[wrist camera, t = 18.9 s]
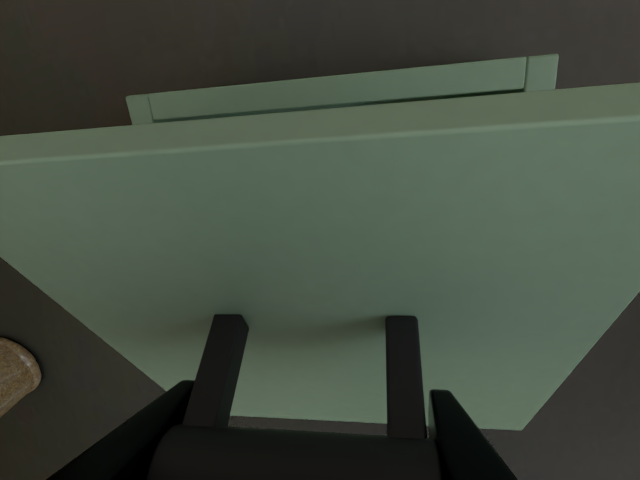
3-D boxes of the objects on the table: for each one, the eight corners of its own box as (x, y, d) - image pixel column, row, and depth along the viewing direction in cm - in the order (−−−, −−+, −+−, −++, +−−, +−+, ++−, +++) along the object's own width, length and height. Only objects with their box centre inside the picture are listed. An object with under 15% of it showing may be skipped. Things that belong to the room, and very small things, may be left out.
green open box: (201, 90, 18) (123, 96, 12) (500, 60, 16) (560, 53, 10) (244, 319, 22) (200, 396, 17) (480, 321, 20) (516, 409, 15)
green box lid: (-75, 140, 7) (-423, 430, 4) (756, 70, 5) (1396, 582, 2) (199, 394, 17) (159, 534, 14) (517, 407, 15) (555, 578, 12)
